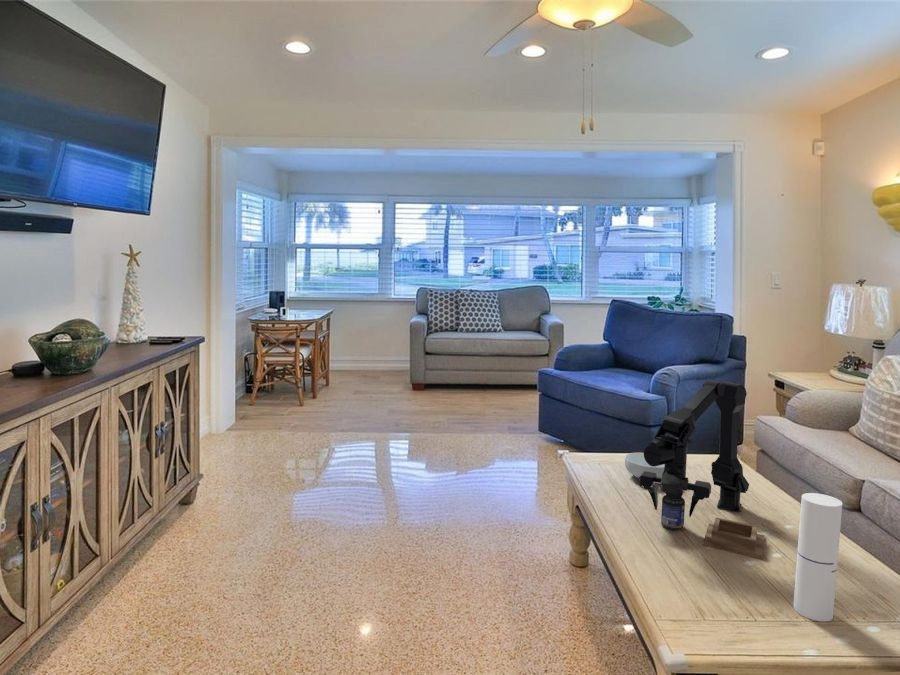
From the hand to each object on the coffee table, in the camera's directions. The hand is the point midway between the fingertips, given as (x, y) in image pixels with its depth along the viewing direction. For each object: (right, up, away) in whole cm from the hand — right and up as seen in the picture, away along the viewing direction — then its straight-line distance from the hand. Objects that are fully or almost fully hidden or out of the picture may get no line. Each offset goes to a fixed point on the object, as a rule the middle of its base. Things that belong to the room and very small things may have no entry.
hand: (672, 512), depth 160 cm
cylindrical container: (+14, -9, -40) cm, 43 cm away
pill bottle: (0, -4, 0) cm, 4 cm away
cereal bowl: (+7, 0, +39) cm, 40 cm away
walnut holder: (+13, -5, -9) cm, 17 cm away
